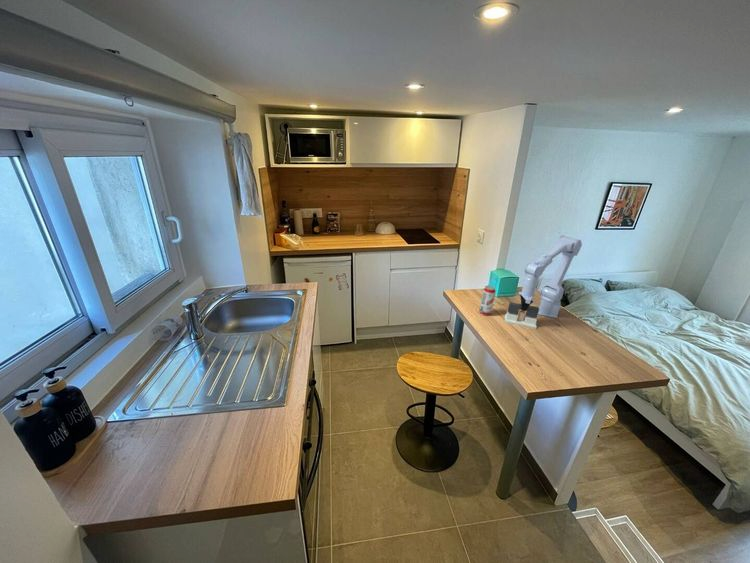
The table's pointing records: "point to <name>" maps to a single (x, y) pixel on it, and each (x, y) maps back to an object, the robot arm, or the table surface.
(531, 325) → the display stand
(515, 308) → the glasses bar
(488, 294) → the beer can
